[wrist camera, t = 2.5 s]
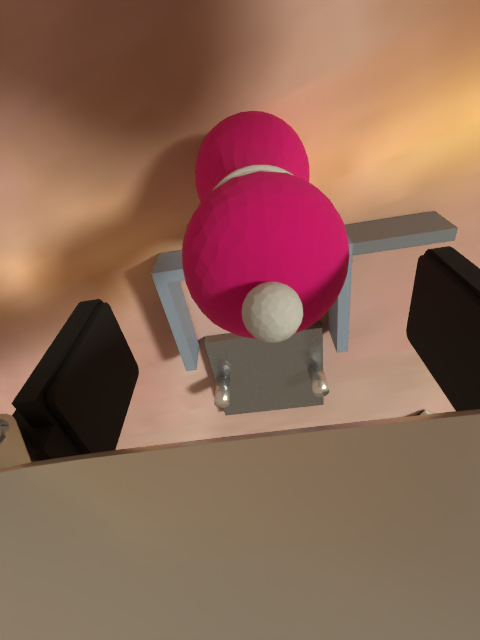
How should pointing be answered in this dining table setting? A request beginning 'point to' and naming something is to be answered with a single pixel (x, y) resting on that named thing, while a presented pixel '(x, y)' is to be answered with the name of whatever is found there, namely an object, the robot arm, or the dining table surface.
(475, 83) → the dining table surface
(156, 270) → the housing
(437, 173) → the dining table surface
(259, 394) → the base plate
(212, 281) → the pepper mill
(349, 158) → the dining table surface
